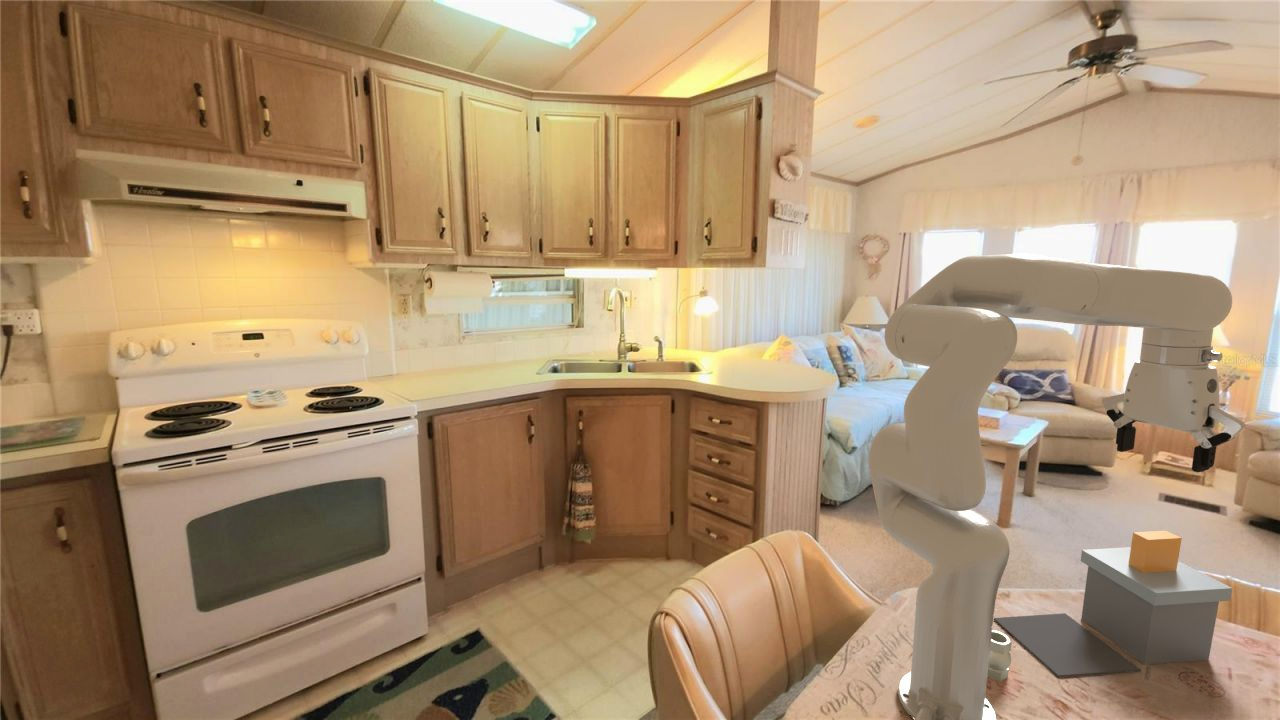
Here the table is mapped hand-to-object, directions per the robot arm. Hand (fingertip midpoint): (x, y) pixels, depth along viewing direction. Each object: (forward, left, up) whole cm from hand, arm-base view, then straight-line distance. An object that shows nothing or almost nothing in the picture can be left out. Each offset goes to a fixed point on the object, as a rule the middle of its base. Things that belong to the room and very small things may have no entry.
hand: (1160, 459), depth 84 cm
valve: (-19, +20, -34) cm, 44 cm away
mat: (-7, +9, -34) cm, 36 cm away
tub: (+4, -1, -34) cm, 34 cm away
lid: (+4, -1, -22) cm, 23 cm away
